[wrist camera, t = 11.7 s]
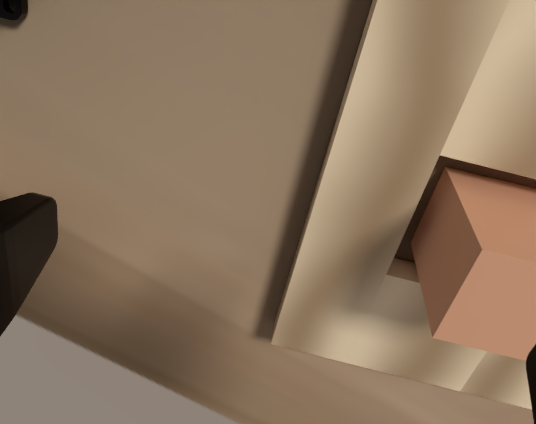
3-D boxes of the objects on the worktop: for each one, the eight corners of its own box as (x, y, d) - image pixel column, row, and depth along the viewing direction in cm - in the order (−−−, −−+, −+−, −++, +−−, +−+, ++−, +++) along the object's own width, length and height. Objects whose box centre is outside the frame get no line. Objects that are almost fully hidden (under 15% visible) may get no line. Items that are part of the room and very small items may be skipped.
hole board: (274, 322, 25) (270, 343, 24) (387, -49, 16) (391, -47, 15) (525, 386, 25) (535, 410, 24) (788, 51, 16) (828, 62, 15)
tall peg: (410, 242, 22) (432, 337, 17) (445, 166, 20) (482, 249, 15) (494, 262, 22) (541, 364, 17) (538, 189, 20) (607, 280, 15)
